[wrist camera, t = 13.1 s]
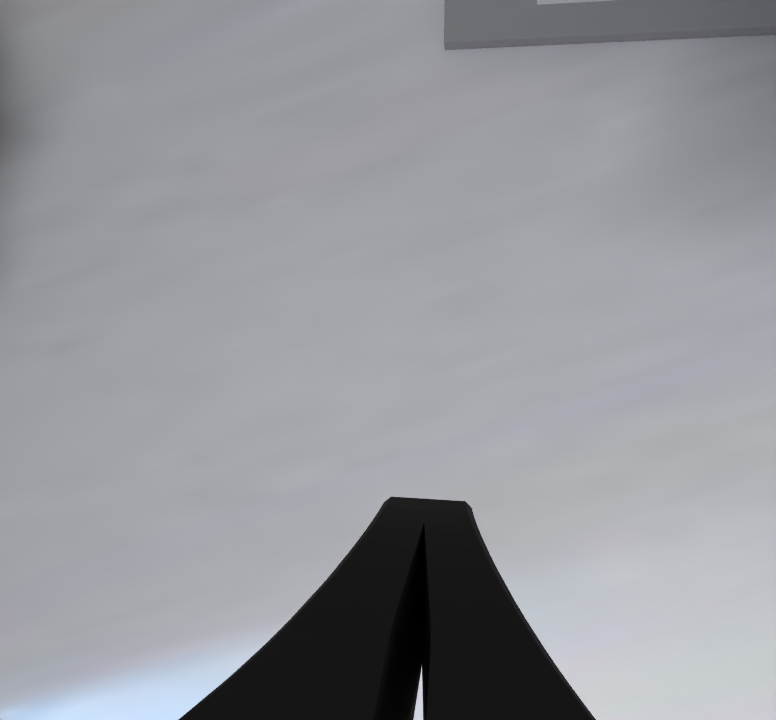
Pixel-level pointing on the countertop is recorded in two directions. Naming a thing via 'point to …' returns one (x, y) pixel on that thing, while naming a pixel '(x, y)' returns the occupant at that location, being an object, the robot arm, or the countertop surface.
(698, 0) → the socket plate
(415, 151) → the countertop surface
